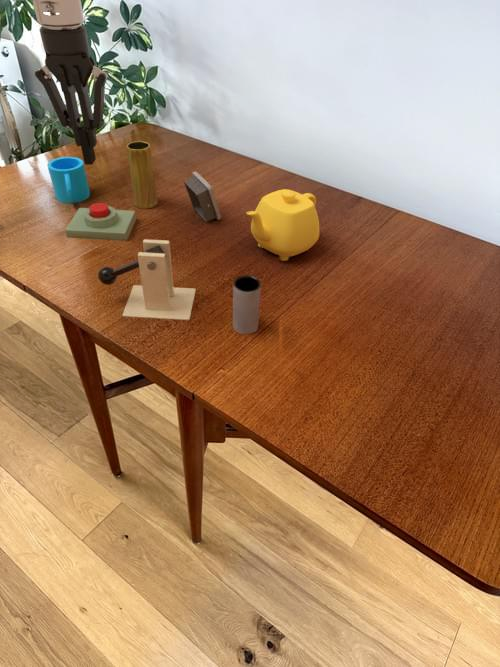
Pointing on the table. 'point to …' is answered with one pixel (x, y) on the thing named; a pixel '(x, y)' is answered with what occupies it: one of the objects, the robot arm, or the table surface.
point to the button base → (102, 225)
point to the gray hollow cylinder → (246, 304)
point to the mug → (69, 179)
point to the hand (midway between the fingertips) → (90, 161)
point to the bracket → (158, 288)
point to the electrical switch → (202, 197)
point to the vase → (142, 175)
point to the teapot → (285, 223)
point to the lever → (122, 268)
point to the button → (99, 210)
